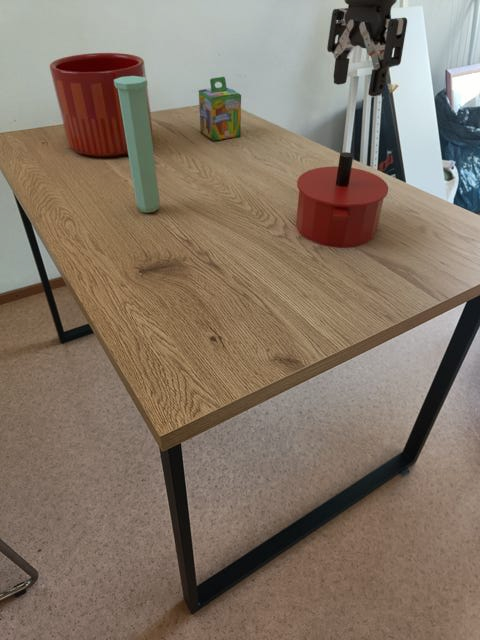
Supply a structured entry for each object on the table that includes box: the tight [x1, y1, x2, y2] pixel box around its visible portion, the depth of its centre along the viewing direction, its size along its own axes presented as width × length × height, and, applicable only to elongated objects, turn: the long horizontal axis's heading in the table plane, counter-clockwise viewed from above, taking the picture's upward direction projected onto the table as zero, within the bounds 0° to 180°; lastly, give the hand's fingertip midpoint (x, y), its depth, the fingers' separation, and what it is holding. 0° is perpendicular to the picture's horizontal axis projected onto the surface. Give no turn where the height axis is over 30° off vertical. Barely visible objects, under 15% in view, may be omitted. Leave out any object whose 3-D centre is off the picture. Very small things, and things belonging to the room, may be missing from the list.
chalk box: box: [198, 76, 242, 142], centre depth 127 cm, size 9×9×15 cm
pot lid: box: [296, 151, 389, 207], centre depth 83 cm, size 17×17×7 cm
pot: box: [295, 190, 385, 248], centre depth 87 cm, size 16×21×8 cm
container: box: [114, 76, 161, 214], centre depth 87 cm, size 6×6×25 cm
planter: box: [49, 52, 154, 158], centre depth 119 cm, size 23×23×20 cm
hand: (356, 89), depth 74 cm, fingers open, 8 cm apart
